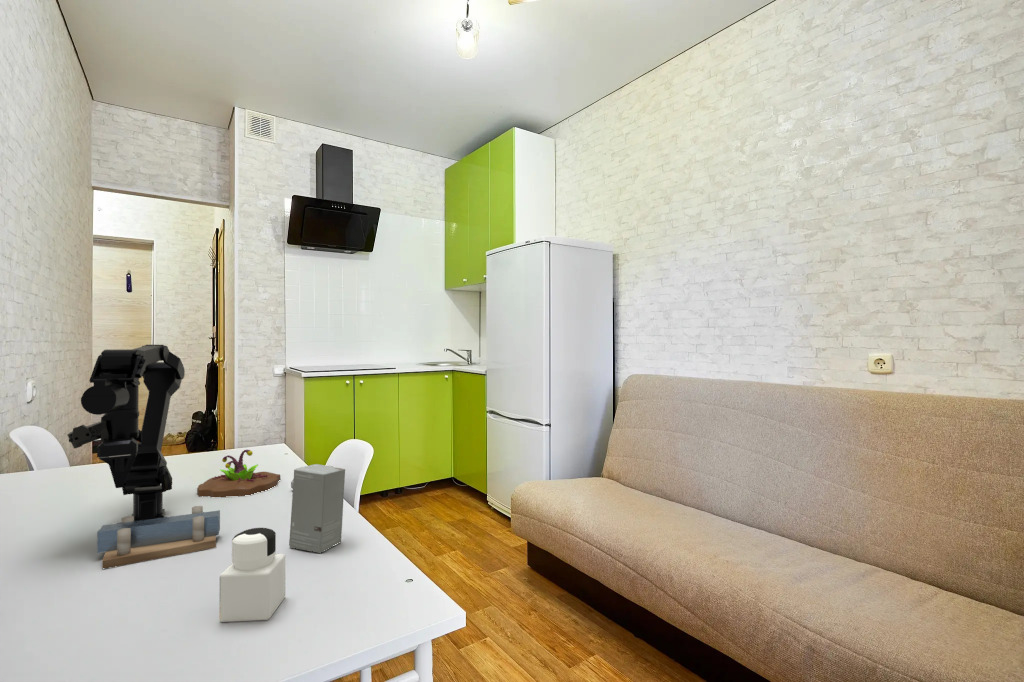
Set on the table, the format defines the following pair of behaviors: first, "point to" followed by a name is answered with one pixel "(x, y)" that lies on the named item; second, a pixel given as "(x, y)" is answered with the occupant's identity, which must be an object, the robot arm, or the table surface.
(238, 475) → the plant
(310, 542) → the skincare box
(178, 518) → the steel bar
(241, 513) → the table surface
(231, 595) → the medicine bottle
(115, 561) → the peg rack
